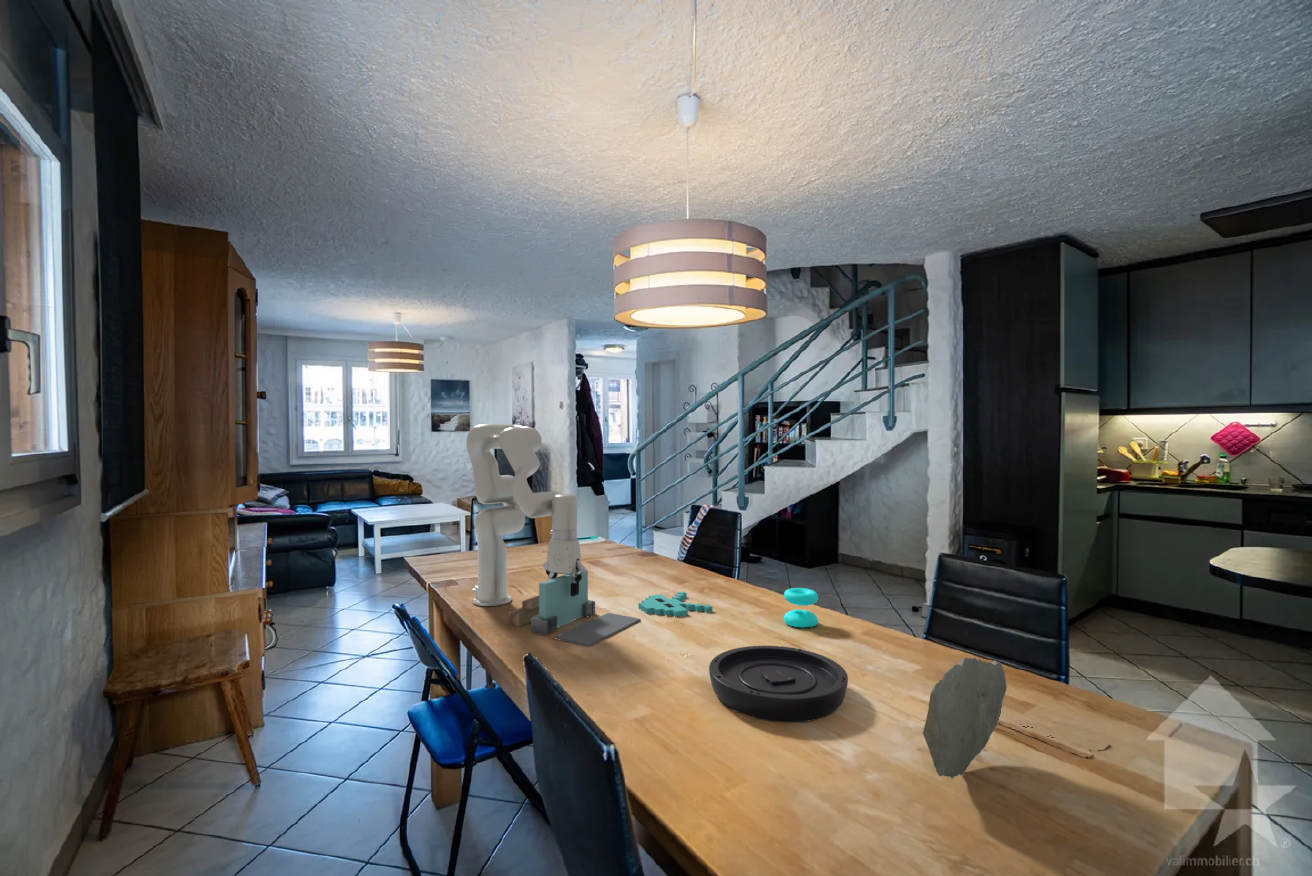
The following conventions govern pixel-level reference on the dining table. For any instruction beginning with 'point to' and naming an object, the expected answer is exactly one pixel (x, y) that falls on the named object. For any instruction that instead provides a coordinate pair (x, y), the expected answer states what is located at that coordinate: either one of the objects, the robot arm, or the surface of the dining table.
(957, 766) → the rock
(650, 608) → the alien figure
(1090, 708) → the dining table surface
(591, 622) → the rubber mat
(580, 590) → the teal sheet
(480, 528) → the robot arm
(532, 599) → the offcut stack
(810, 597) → the donuts
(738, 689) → the round tray
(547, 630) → the slab rack
